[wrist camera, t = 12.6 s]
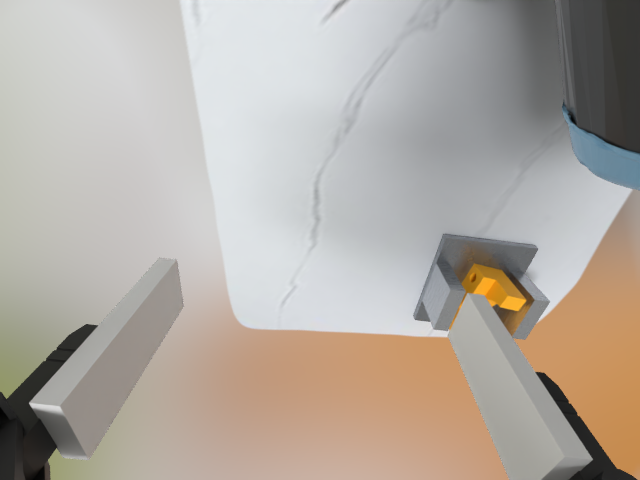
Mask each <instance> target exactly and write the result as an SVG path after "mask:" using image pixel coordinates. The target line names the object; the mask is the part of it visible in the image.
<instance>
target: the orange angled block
mask: <svg viewBox="0 0 640 480" xmlns="http://www.w3.org/2000/svg"><path fill="white" fill-rule="evenodd" d="M462 286H463V288H464V289H465V291H466V293H465V295H464V297H463V299H462V301H461V303H460V306H459V308H458V310H457V312H456V314H455V316H454V319H453V321H452V323H451V325H450V327H449V329H451V327H452V325H453V323H454V321H455V319H456V317H457V314H458V312H459V310H460V308H461V306H462V304H463V302H464V300H465V297H466V295H467V293H472V294H481V295H484V296H485V297H486V299H487V300H488V302H489V303H490V305H491V306H492V307H493V306H494V305H496V304H498V305H499V307H502V308H506V309H510V310H515V311H519V309H520V308H521V307H522V306H523V304H524V303H525V302H526V301H527V300H526V299H525V297H524V296H523V295H522V294H521V293H520V291H519V290H518V289H517V288H516V287H515V285H514V284H513V283H512V282H511V281H510V279H509V278H508V277H507V276H506V275H505V273H504V272H503V271H502V270H499V269H495V268H491V267H487V266H483V265H479V264H475V263H474V264H473V266H472V268H471V269H470V271H469V272H468V274H467V276H466V277H465V279H464V280H463V282H462Z"/></svg>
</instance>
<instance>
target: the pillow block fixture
mask: <svg viewBox="0 0 640 480" xmlns="http://www.w3.org/2000/svg"><path fill="white" fill-rule="evenodd" d="M537 251H538V248H537V247H536V246H535V245H530V244H521V243H513V242H505V241H497V240H489V239H480V238H472V237H464V236H456V235H448V234H443V237H442V240H441V242H440V245H439V248H438V250H437V253H436V256H435V258H434V261H433V264H432V267H431V269H430V272H429V275H428V277H427V280H426V283H425V285H424V288H423V291H422V293H421V296H420V299H419V302H418V304H417V307H416V310H415V312H414V315H413V316H414V319H415V320H419V321H428V322H431V324H432V327H433V329H435V330H444V331H448V329H449V327H450V325H451V323H452V321H453V319H454V316H455V314H456V312H457V310H458V308H459V306H460V303H461V301H462V299H463V297H464V295H465V293H466V291H465V289H464V288H463V286H462V282H463V280H464V279H465V277H466V276H467V274H468V272H469V271H470V269H471V268H472V266H473V264H474V263H475V264H479V265H483V266H487V267H491V268H495V269H499V270H502V271H503V272H504V273H505V275H506V276H507V277H508V278H509V279H510V281H511V282H512V283H513V284H514V285H515V287H516V288H517V289H518V290H519V291H520V293H521V294H522V295H523V296H524V297H525V299H526V300H527V301H526V302H525V303H524V304H523V306H522V307H521V308H520V309H519V311H515V310H510V309H506V308H502V307H499V305H498V304H496V305H494V306H493V307H492V308H493V309H494V311H495V312H496V314H497V315H498V317H499V318H500V320H501V321H502V323H503V324H504V326H505V327H506V329H507V330H508V332H509V333H510V335H511V336H512V338H516V339H524V340H525V339H526V338H527V336H528V334H529V333H530V331H531V330H532V329H533V327H534V326H535V324H536V323H537V321H538V320H539V318H540V316H541V315H542V313H543V312H544V310H545V309H546V307H547V306H548V304H549V303H550V301H549V300H548V299H547V297H546V296H545V295H544V294H543V293H542V292H541V291H540V290H539V289H538V288H537V287H536V286H535V285H534V283H533V282H532V281H531V280H530V279H529V278H528V277H527V276H526V275H525V274H524V273H525V272H526V270H527V268H528V266H529V265H530V263H531V261H532V259H533V258H534V256H535V254H536V252H537Z"/></svg>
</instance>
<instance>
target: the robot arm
mask: <svg viewBox="0 0 640 480" xmlns="http://www.w3.org/2000/svg"><path fill="white" fill-rule="evenodd" d="M555 6H556V16H557V26H558V37H559V48H560V59H561V70H562V81H563V92H564V102H563V106H562V111H563V116H564V118H565V120H566V122H567V123H568V125H569V130H570V136H571V142H572V148H573V151H574V154H575V156H576V157H577V159H578V160H579V162H580V163H581V164H583V165H585V166H586V167H588V169H589V170H590V171H591V172H592V173H593V174H595V175H596V176H598V177H600V178H602V179H605V180H607V181H609V182H612V183H614V184H617V185H621V186H624V187H628V188H632V189H636V190H640V0H555ZM183 307H184V304H183V298H182V291H181V284H180V277H179V270H178V264H177V260H176V259H167V258H159V259H158V260H157V261H156V262H155V263H154V264H153V265H152V267H151V268H150V269H149V270H148V271H147V272H146V273H145V274H144V275H143V277H142V278H141V279H140V280H139V281H138V282H137V283H136V284H135V286H134V287H133V288H132V289H131V290H130V291H129V292H128V293H127V294H126V295H125V297H124V298H123V299H122V300H121V301H120V302H119V303H118V304H117V305H116V307H115V308H114V309H113V310H112V311H111V312H110V313H109V314H108V315H107V317H106V318H105V319H104V320H103V321H102V322H101V324H99V325H89V324H86V325H84V326H83V327H81V328H79V329H78V330H76V331H75V332H73V333H71V334H70V335H69V336H68V337H67V338H66V339H65V340H64V341H63V342H62V343H61V344H60V345H59V346H58V347H57V350H54V351H53V352H52V353H51V354H50V355H49V356H48V357H47V358H46V361H44V362H42V363H41V364H40V366H39V367H38V368H37V369H36V370H35V371H34V372H33V373H32V374H31V375H30V376H29V377H28V378H27V379H26V380H25V381H24V382H23V383H22V384H21V385H20V386H19V387H18V388H17V389H16V390H15V391H14V392H13V393H12V394H11V395H10V396H9V398H7V399H6V398H5V397H4V395H3V394H2V392H0V480H50V465H49V463H48V459H49V458H50V456H51V455H52V453H53V452H54V451H55V449H56V448H57V449H58V450H59V452H60V454H61V455H62V457H63V458H73V459H82V460H83V459H84V460H89V459H90V458H91V456H92V454H93V453H94V451H95V450H96V448H97V446H98V445H99V443H100V442H101V440H102V438H103V437H104V435H105V433H106V432H107V430H108V428H109V427H110V425H111V424H112V422H113V420H114V419H115V417H116V416H117V414H118V412H119V411H120V409H121V407H122V406H123V404H124V402H125V401H126V399H127V398H128V396H129V394H130V393H131V391H132V390H133V388H134V386H135V385H136V383H137V381H138V380H139V378H140V376H141V375H142V373H143V372H144V370H145V368H146V367H147V365H148V364H149V362H150V360H151V359H152V357H153V355H154V353H155V352H156V351H157V349H158V347H159V346H160V344H161V342H162V341H163V339H164V338H165V336H166V334H167V333H168V331H169V329H170V328H171V326H172V325H173V323H174V321H175V320H176V318H177V317H178V315H179V313H180V312H181V310H182V308H183ZM448 337H449V339H450V342H451V344H452V347H453V349H454V351H455V353H456V356H457V358H458V361H459V363H460V365H461V368H462V370H463V372H464V375H465V377H466V379H467V382H468V384H469V386H470V389H471V391H472V393H473V396H474V398H475V400H476V403H477V405H478V407H479V410H480V412H481V414H482V417H483V419H484V421H485V424H486V426H487V428H488V431H489V433H490V435H491V438H492V440H493V442H494V445H495V447H496V449H497V452H498V454H499V457H500V459H501V461H502V464H503V466H504V468H505V470H506V473H507V475H508V478H509V480H637V479H636V478H634V477H633V476H632V475H630V474H628V473H626V472H624V471H622V470H620V469H617V468H616V467H615V465H614V464H613V463H612V462H611V460H610V459H609V457H608V456H607V455H606V453H605V452H604V450H603V449H602V447H601V446H600V445H599V443H598V442H597V440H596V439H595V437H594V436H593V435H592V433H591V432H590V430H589V429H588V427H587V426H586V425H585V423H584V422H583V420H582V419H581V418H580V417H579V416H578V415H577V412H576V411H575V409H574V408H573V406H572V405H571V404H569V401H568V399H567V398H566V396H565V395H564V393H563V392H562V391H561V389H560V388H559V387H558V385H557V384H555V383H554V382H553V381H552V380H551V379H550V378H549V377H548V376H547V375H546V374H545V373H541V372H535V371H534V370H533V368H532V367H531V365H530V364H529V362H528V361H527V359H526V358H525V356H524V355H523V353H522V352H521V350H520V348H519V347H518V345H517V344H516V343H515V341H514V339H513V338H512V336H511V335H510V333H509V332H508V330H507V329H506V327H505V326H504V324H503V323H502V321H501V320H500V318H499V317H498V315H497V314H496V312H495V311H494V309H493V308H492V306H491V305H490V303H489V302H488V300H487V299H486V297H485V296H484V295H481V294H472V293H467V295H466V297H465V300H464V302H463V304H462V306H461V308H460V310H459V312H458V314H457V317H456V319H455V321H454V323H453V325H452V327H451V329H450V332H449V334H448Z"/></svg>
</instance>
